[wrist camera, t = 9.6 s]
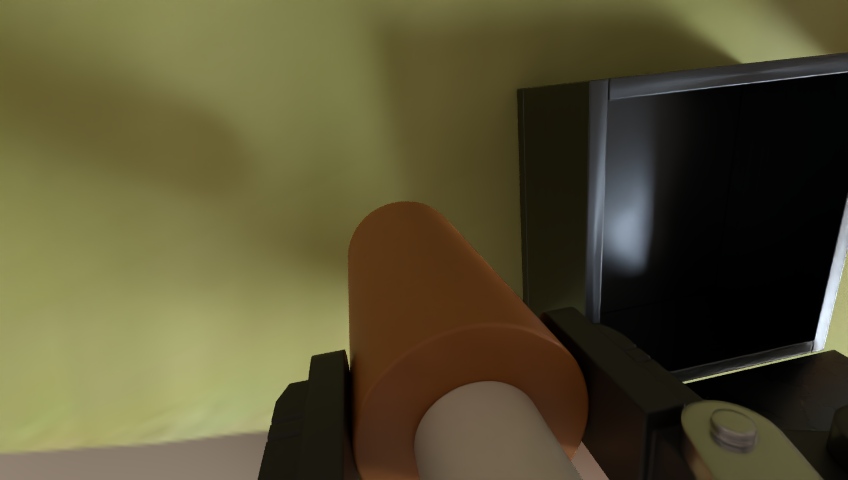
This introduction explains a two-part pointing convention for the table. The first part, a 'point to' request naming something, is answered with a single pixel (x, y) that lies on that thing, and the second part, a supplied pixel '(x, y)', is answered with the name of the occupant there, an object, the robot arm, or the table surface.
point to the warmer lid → (786, 390)
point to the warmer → (691, 208)
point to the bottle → (451, 362)
